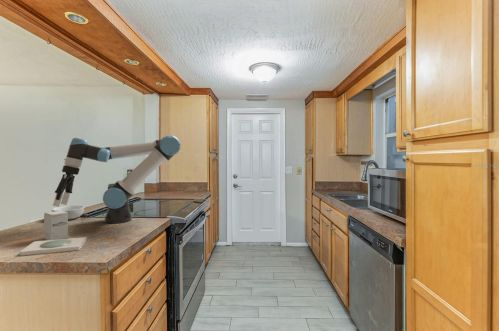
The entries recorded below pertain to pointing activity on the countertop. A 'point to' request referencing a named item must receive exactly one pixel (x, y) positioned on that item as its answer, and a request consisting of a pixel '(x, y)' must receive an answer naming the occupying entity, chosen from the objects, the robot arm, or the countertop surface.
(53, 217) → the supplement box
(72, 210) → the cereal bowl
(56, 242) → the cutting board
